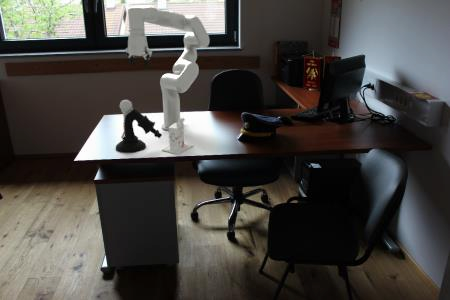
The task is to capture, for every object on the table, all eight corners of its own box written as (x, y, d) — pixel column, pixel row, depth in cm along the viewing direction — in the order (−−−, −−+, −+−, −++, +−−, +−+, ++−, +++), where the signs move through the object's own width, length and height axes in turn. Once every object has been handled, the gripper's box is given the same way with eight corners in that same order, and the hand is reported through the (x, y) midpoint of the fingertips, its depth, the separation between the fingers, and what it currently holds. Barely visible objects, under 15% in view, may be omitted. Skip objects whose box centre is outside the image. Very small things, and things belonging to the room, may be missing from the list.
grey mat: (177, 143, 219) (177, 142, 219) (193, 146, 214) (193, 145, 214) (161, 150, 208) (161, 149, 208) (178, 154, 204) (177, 153, 203)
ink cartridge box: (175, 144, 216) (174, 116, 211) (184, 145, 214) (183, 117, 209) (169, 149, 208) (167, 121, 203) (178, 150, 207) (177, 122, 202)
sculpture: (118, 143, 219) (114, 96, 210) (163, 141, 221) (161, 95, 212) (113, 153, 205) (108, 104, 196) (161, 152, 207) (158, 103, 198)
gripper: (119, 32, 212) (122, 66, 218) (145, 33, 203) (147, 68, 210) (129, 31, 218) (132, 64, 224) (155, 32, 210) (157, 66, 216)
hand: (139, 66), depth 217 cm, fingers open, 9 cm apart
